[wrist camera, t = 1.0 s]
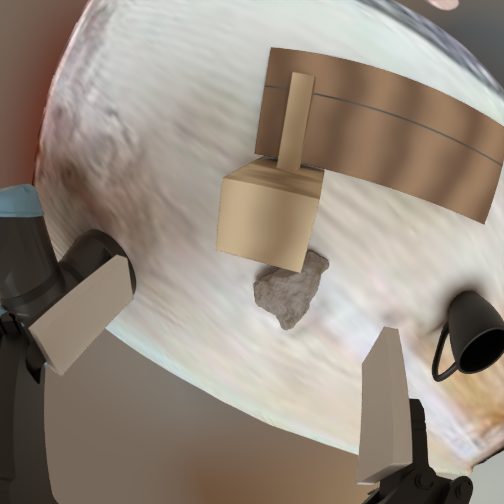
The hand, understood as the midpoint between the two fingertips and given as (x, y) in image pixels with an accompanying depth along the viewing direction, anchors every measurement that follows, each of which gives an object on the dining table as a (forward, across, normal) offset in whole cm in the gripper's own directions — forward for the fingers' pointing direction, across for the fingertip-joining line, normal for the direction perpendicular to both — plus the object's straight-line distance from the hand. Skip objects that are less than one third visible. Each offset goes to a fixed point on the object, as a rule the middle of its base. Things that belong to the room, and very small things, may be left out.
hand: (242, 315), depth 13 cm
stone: (+21, +2, -11) cm, 24 cm away
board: (+21, +9, +10) cm, 25 cm away
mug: (+21, +27, -10) cm, 35 cm away
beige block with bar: (+21, -1, +6) cm, 22 cm away
